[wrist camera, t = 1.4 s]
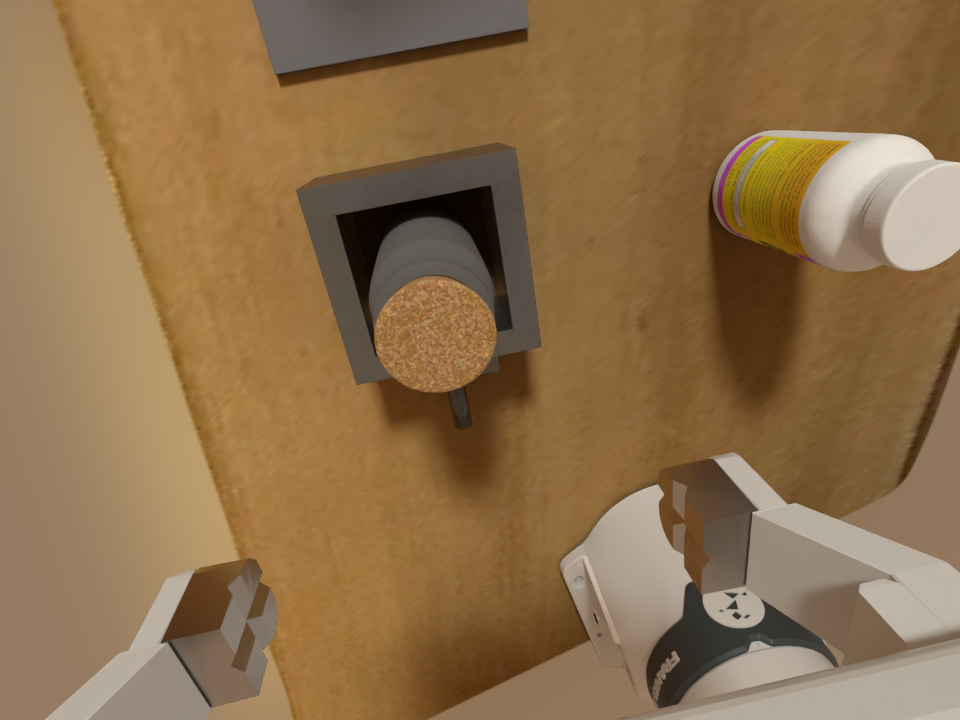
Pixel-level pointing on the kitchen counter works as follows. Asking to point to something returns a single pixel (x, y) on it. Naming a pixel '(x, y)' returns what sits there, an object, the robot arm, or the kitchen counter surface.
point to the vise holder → (409, 180)
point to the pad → (375, 27)
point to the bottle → (432, 302)
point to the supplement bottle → (842, 199)
